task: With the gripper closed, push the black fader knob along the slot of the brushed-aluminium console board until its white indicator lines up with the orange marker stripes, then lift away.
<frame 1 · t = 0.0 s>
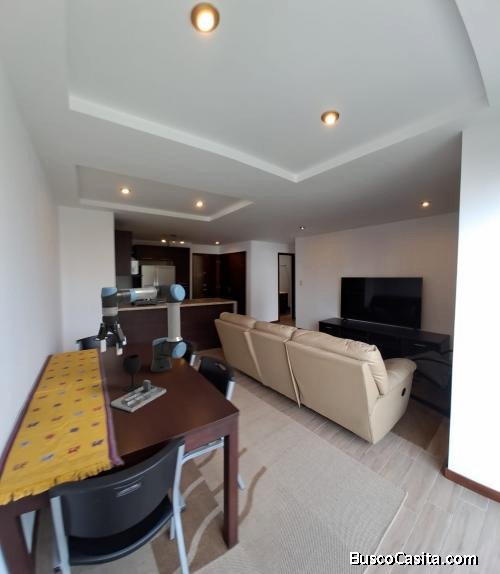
hand: (111, 352, 134), 28 cm above the table, fingers open, 13 cm apart
fader knob: (146, 385, 143), point 5 cm above the table, slide at -5.0 cm
wine glass: (132, 388, 152), on the table
console: (140, 398, 138), on the table
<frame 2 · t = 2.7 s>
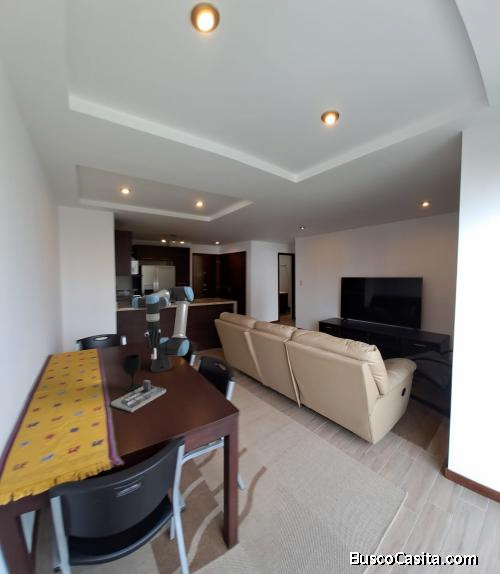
hand: (153, 358, 147), 20 cm above the table, fingers closed
nothing on the table moved.
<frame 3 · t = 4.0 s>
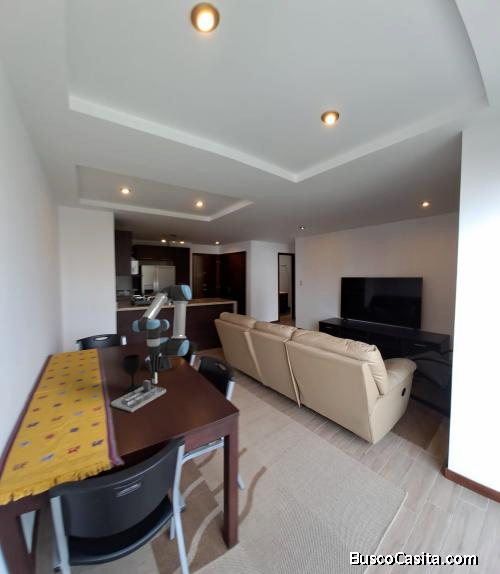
hand: (154, 382, 148), 5 cm above the table, fingers closed
nothing on the table moved.
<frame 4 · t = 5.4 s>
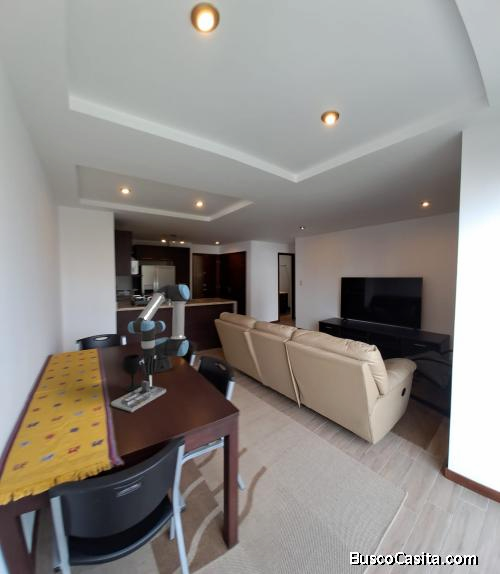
hand: (149, 386, 144), 5 cm above the table, fingers closed
fader knob: (145, 386, 142), point 5 cm above the table, slide at -3.8 cm, touching gripper
everything else where it was.
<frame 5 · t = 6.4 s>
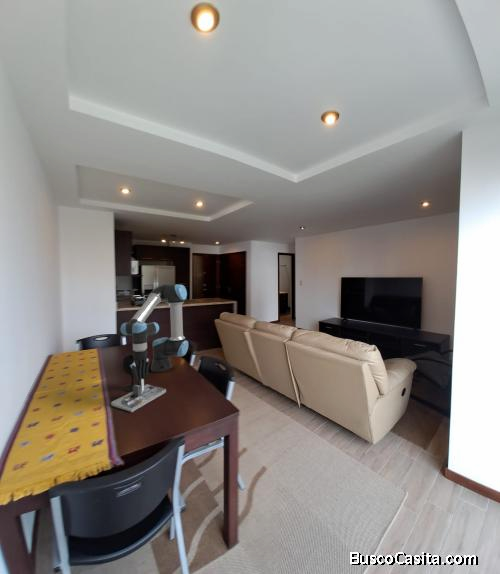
hand: (141, 390, 139), 5 cm above the table, fingers closed
fader knob: (137, 390, 136), point 5 cm above the table, slide at 2.0 cm, touching gripper
everything else where it was.
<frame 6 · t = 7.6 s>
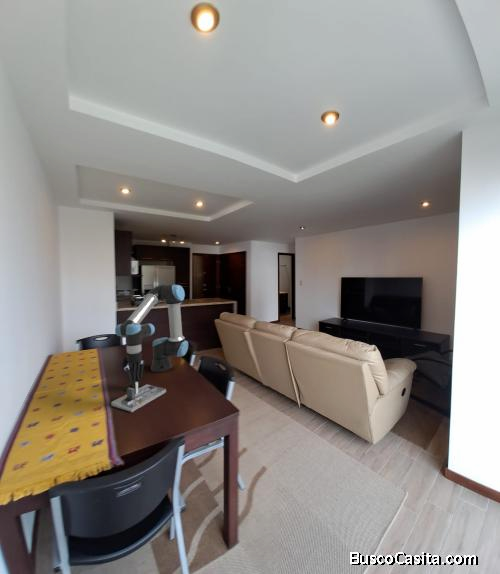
hand: (135, 393, 135), 4 cm above the table, fingers closed
fader knob: (130, 394, 133), point 5 cm above the table, slide at 5.9 cm, touching gripper
everything else where it was.
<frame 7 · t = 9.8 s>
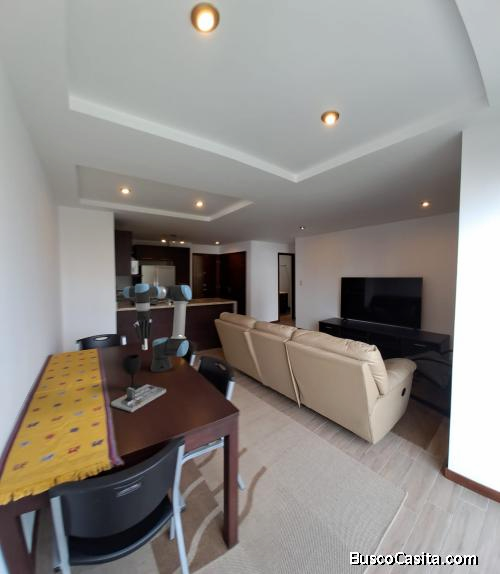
hand: (144, 349, 142), 27 cm above the table, fingers closed
fader knob: (130, 394, 133), point 5 cm above the table, slide at 5.9 cm
everything else where it was.
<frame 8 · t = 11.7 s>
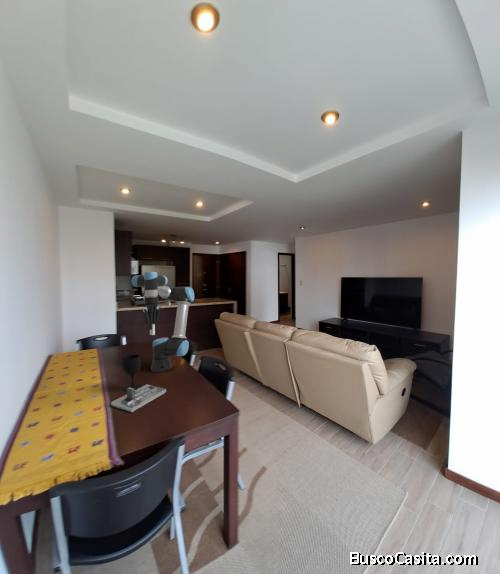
hand: (152, 334, 149), 34 cm above the table, fingers closed
nothing on the table moved.
at the end: fader knob slide at 5.9 cm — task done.
